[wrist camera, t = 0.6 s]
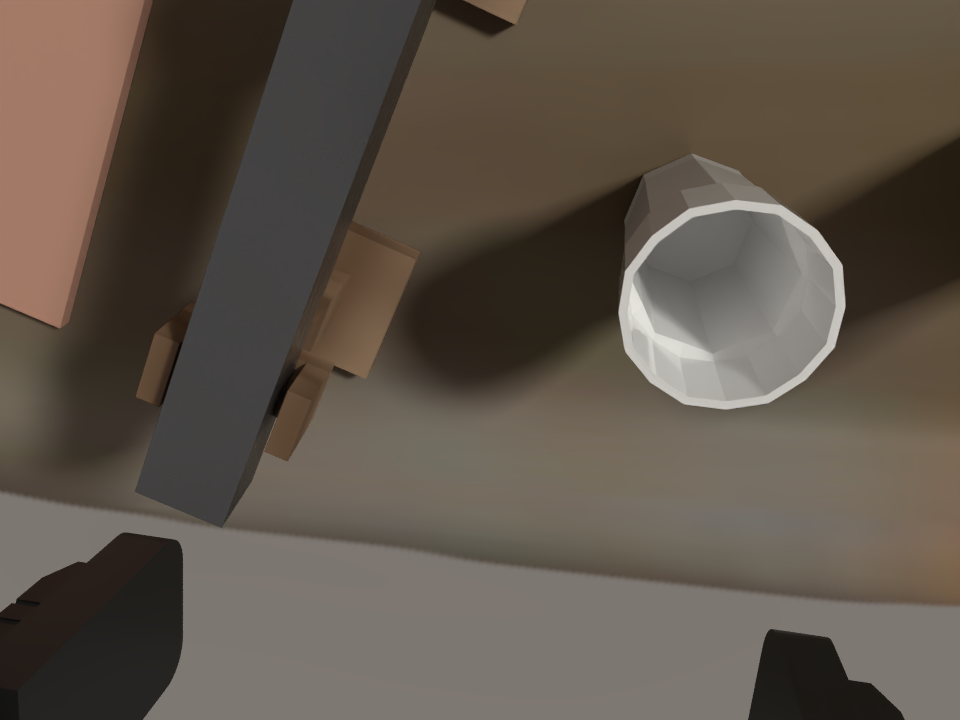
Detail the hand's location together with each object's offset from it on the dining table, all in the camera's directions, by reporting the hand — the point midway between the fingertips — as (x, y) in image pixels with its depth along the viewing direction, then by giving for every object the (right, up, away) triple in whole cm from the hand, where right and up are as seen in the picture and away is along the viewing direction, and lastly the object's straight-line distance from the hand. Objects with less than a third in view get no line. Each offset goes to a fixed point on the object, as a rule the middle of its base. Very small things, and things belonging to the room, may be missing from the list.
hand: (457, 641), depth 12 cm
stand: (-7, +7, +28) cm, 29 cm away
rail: (-4, +10, +15) cm, 19 cm away
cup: (+9, +10, +25) cm, 28 cm away
